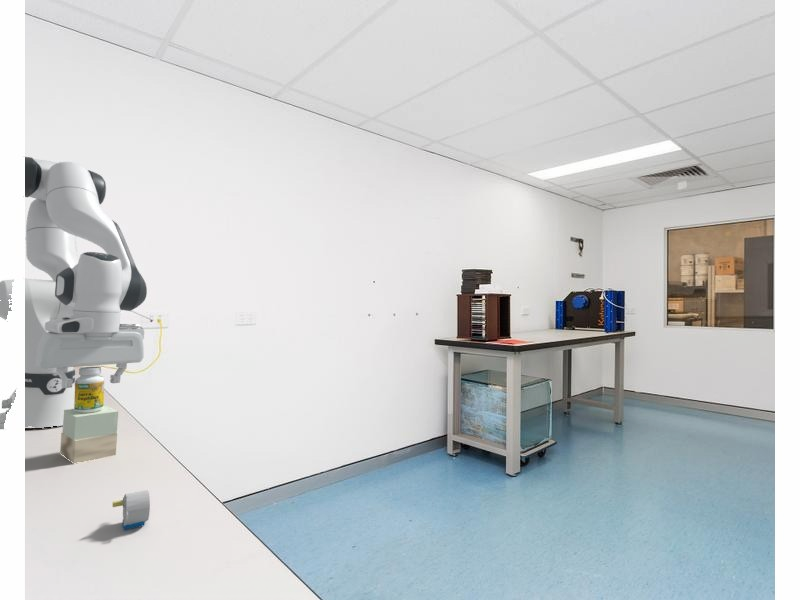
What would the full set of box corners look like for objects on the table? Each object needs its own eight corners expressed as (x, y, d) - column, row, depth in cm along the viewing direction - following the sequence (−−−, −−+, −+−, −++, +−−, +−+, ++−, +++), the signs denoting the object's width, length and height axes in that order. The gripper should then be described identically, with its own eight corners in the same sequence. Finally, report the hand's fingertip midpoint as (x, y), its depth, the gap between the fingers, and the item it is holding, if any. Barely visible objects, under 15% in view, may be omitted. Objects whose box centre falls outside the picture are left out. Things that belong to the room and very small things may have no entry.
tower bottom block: (59, 455, 96) (61, 432, 96) (100, 447, 103) (102, 426, 103) (73, 464, 92) (75, 440, 92) (115, 455, 98) (117, 433, 98)
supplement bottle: (103, 406, 101) (105, 365, 101) (102, 411, 96) (104, 368, 96) (75, 409, 98) (76, 366, 98) (72, 414, 94) (74, 370, 94)
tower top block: (62, 432, 97) (64, 409, 97) (103, 426, 103) (105, 404, 103) (74, 440, 92) (75, 417, 92) (116, 433, 98) (118, 411, 98)
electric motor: (109, 520, 70) (111, 489, 70) (143, 513, 73) (145, 483, 73) (112, 540, 64) (115, 506, 64) (149, 531, 67) (151, 499, 67)
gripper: (138, 323, 108) (134, 378, 108) (35, 322, 91) (30, 388, 91) (151, 325, 105) (146, 382, 104) (46, 324, 88) (41, 393, 88)
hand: (91, 385), depth 98 cm, fingers open, 8 cm apart
